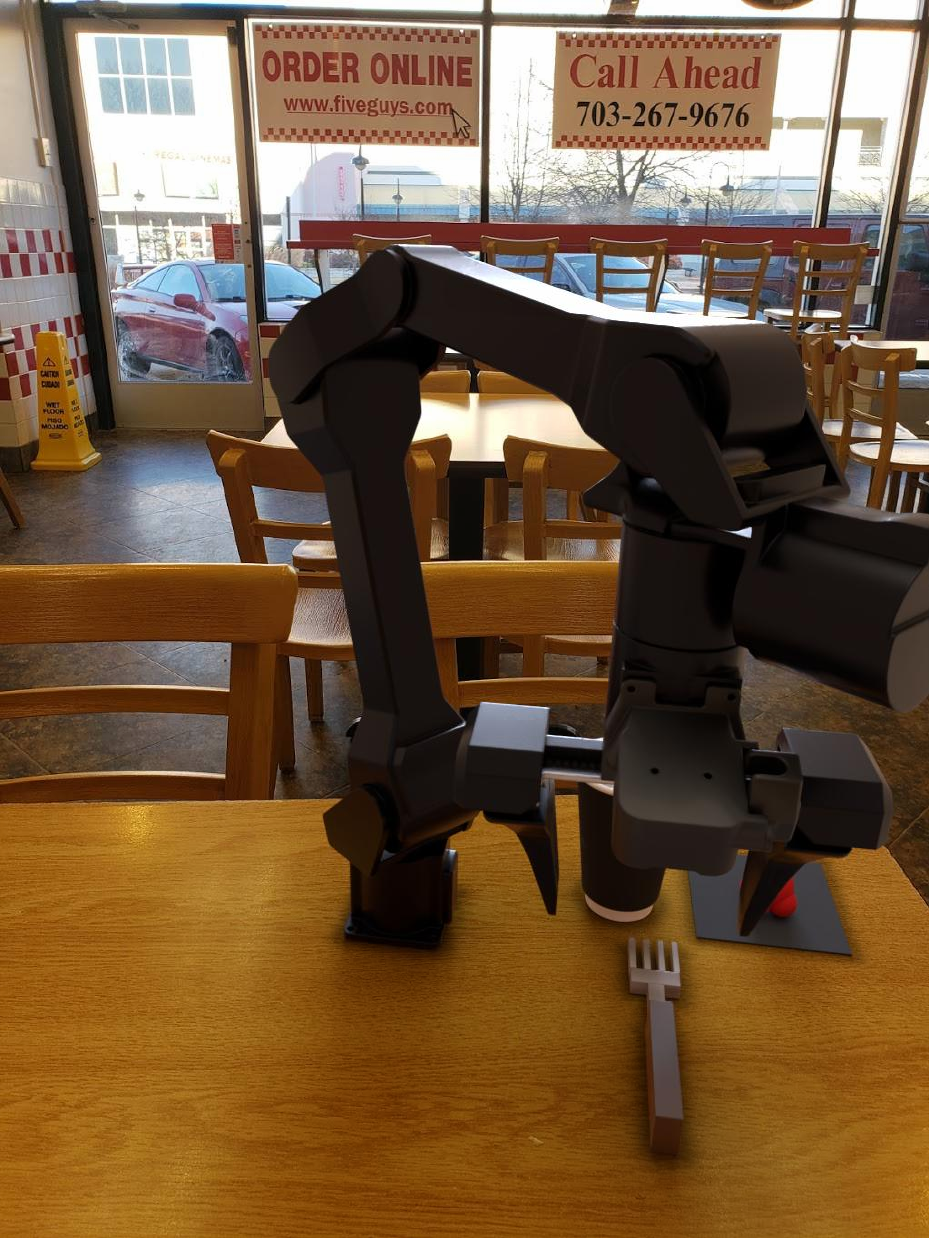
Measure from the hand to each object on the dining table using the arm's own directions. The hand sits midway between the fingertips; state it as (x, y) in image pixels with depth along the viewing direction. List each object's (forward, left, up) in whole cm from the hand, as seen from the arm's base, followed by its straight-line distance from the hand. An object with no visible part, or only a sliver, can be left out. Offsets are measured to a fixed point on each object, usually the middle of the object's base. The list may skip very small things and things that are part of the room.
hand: (646, 920), depth 46 cm
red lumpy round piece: (+10, +18, -12) cm, 24 cm away
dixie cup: (0, +17, -12) cm, 21 cm away
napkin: (+10, +19, -12) cm, 25 cm away
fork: (+2, +4, -12) cm, 13 cm away
